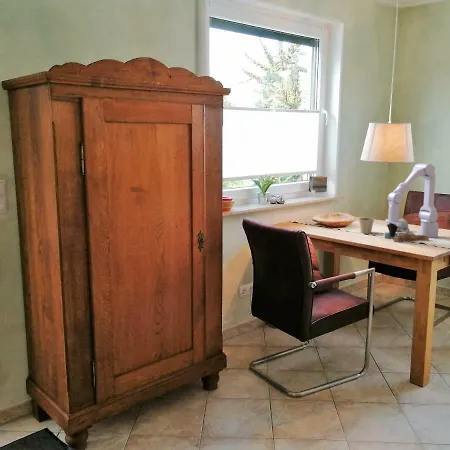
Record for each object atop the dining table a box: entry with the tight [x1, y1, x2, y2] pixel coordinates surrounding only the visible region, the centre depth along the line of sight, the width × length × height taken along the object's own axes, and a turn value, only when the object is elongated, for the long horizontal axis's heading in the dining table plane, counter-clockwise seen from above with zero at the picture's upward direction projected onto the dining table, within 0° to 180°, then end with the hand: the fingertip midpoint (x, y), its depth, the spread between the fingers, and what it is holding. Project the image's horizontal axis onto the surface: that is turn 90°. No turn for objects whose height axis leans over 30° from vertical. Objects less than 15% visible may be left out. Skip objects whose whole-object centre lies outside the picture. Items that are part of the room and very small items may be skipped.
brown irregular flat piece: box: [393, 232, 430, 243], centre depth 284 cm, size 22×13×3 cm, turn 92°
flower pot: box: [358, 217, 375, 234], centre depth 304 cm, size 9×9×9 cm
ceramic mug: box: [396, 218, 410, 233], centre depth 308 cm, size 11×8×8 cm
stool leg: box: [384, 231, 409, 239], centre depth 288 cm, size 13×2×4 cm, turn 72°
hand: (392, 236), depth 285 cm, fingers closed
